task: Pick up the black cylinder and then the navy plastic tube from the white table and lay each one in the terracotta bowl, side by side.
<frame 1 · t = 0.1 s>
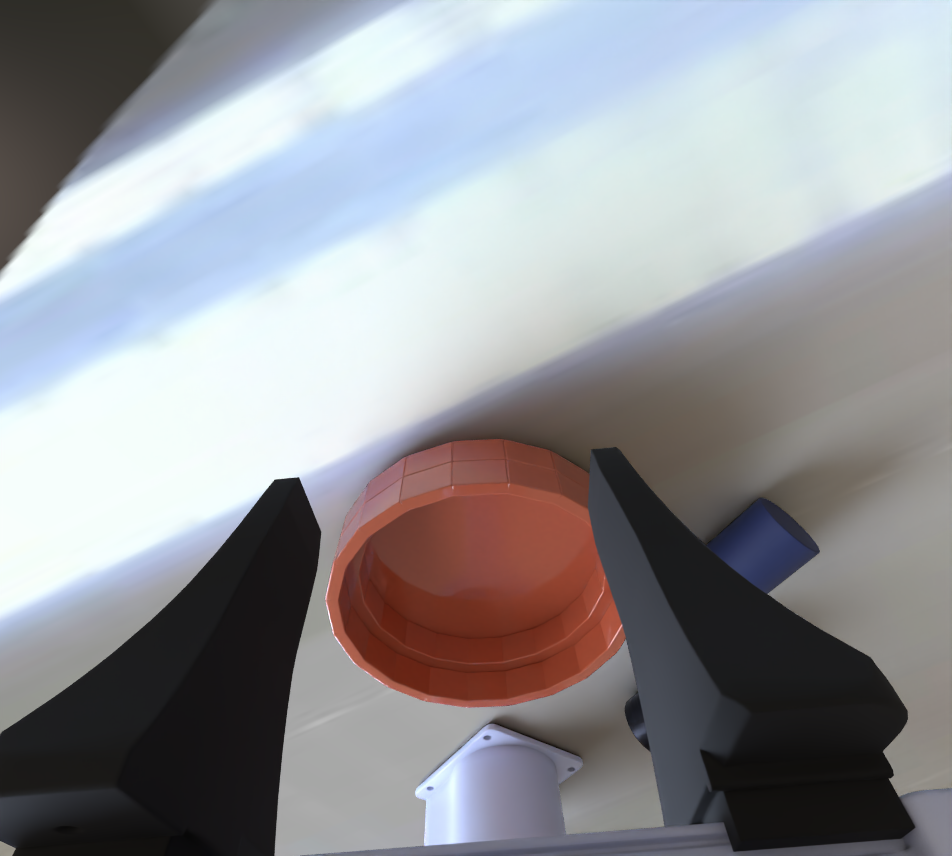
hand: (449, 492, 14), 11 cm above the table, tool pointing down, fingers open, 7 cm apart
black cylinder: (676, 670, 34), on the table
bowl: (481, 550, 29), on the table
navy tube: (721, 547, 29), on the table
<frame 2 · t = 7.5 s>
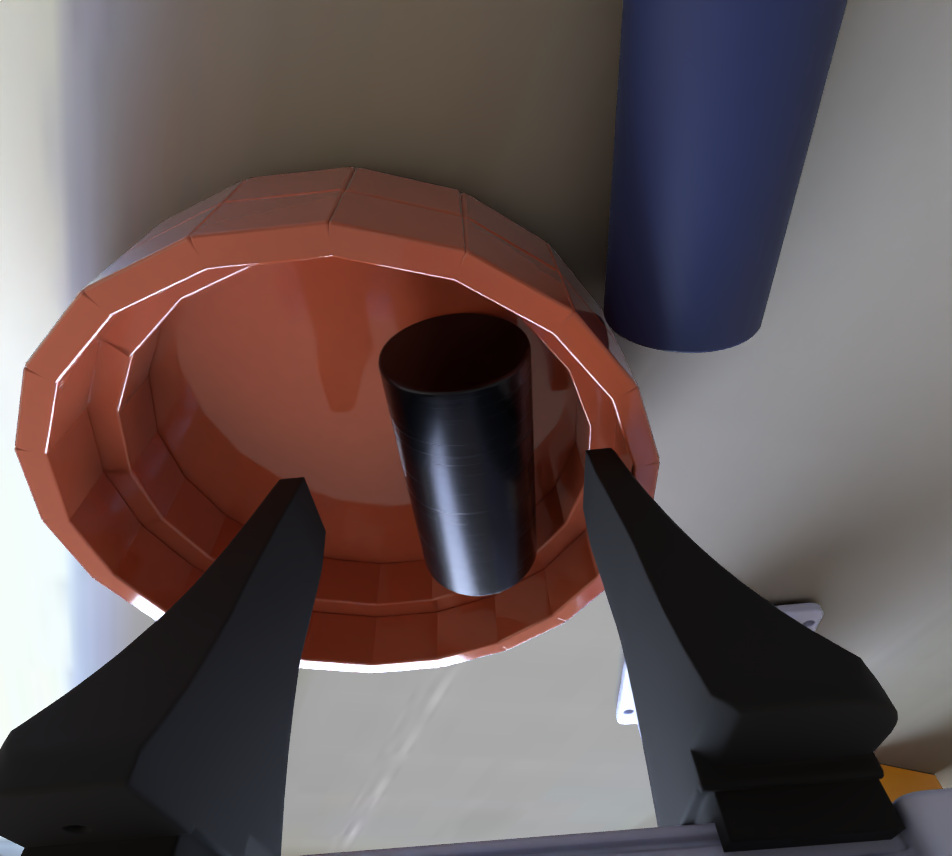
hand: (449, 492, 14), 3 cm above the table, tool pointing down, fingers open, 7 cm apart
orange juice: (844, 783, 38), on the table
black cylinder: (446, 427, 16), point 1 cm above the table, tilted 21°, touching bowl
bowl: (374, 421, 16), on the table
navy tube: (794, 136, 10), point 2 cm above the table, tilted 87°, touching bowl
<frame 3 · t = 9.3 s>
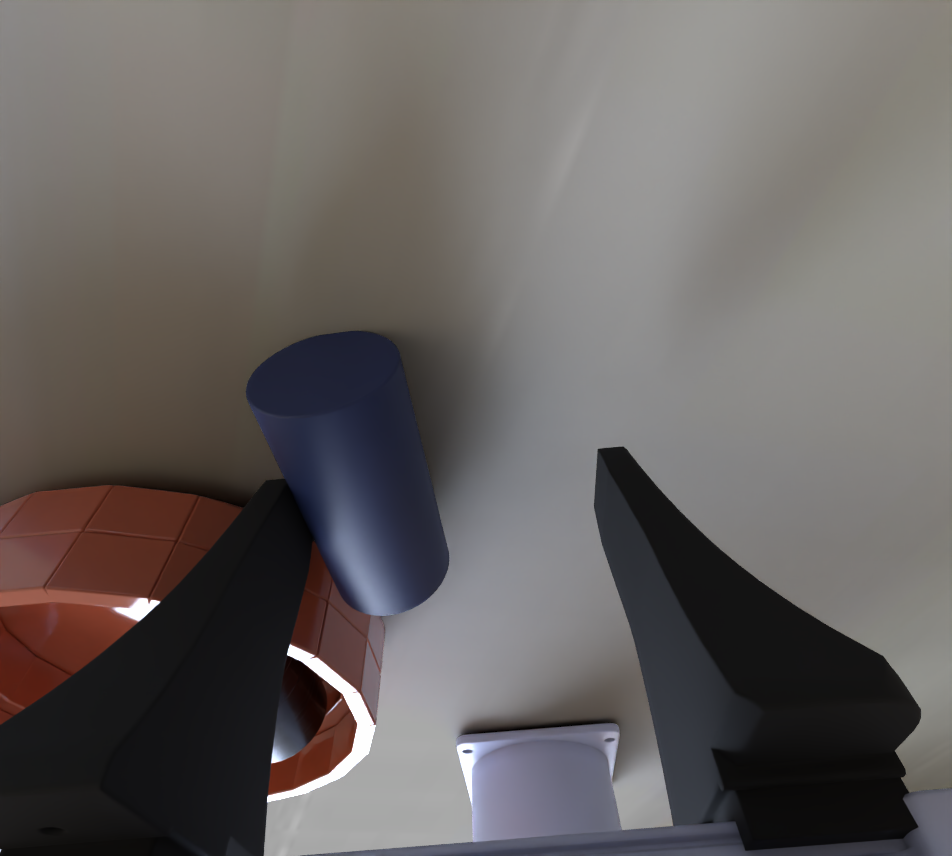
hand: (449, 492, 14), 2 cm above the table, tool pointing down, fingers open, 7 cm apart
black cylinder: (239, 626, 19), point 1 cm above the table, tilted 28°, touching bowl
bowl: (188, 613, 20), on the table
navy tube: (422, 493, 14), point 2 cm above the table, tilted 113°, touching gripper
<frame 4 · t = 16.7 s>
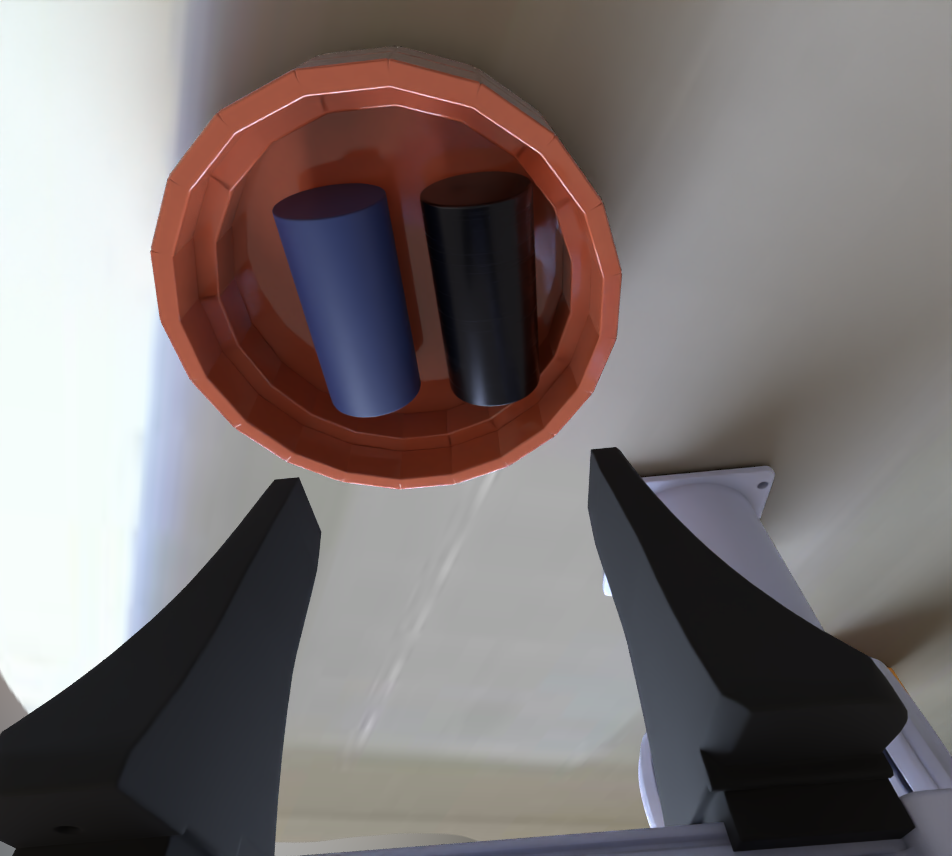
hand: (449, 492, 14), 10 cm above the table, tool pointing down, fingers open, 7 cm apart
black cylinder: (462, 279, 20), point 1 cm above the table, tilted 28°, touching bowl
bowl: (403, 277, 21), on the table
navy tube: (394, 287, 20), point 1 cm above the table, tilted 47°, touching bowl
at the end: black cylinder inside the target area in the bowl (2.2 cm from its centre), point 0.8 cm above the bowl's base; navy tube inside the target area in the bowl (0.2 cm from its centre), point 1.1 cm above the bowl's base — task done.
